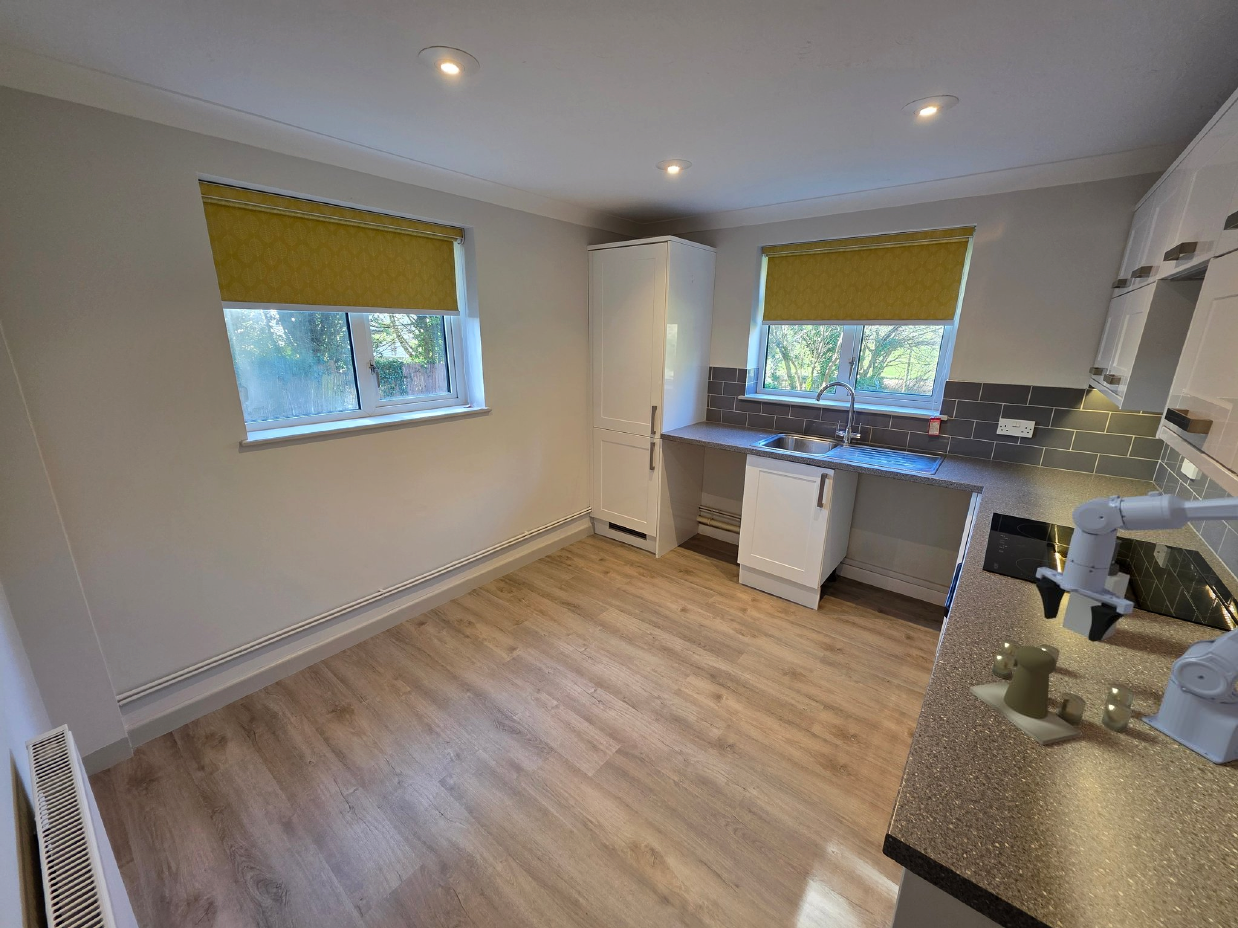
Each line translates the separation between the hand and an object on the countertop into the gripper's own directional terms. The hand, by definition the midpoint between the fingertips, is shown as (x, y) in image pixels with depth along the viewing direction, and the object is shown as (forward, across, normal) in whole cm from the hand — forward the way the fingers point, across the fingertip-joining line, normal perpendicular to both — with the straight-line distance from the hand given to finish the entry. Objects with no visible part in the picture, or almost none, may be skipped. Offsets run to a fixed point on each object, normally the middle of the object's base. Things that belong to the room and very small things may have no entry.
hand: (1071, 628), depth 92 cm
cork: (+10, +6, -16) cm, 20 cm away
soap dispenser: (+11, -12, +23) cm, 28 cm away
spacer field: (+10, +3, -5) cm, 12 cm away
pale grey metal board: (+10, +6, -17) cm, 21 cm away
